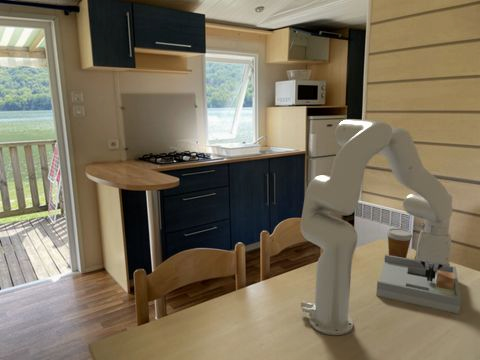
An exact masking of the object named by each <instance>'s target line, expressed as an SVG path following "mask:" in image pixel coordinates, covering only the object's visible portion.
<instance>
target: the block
mask: <svg viewBox="0 0 480 360" xmlns="http://www.w3.org/2000/svg"><path fill="white" fill-rule="evenodd" d="M454 284H455V276H454V273H451V272H446V271H440V270H437V278H436V287H439V288H444V289H449V290H454Z"/></svg>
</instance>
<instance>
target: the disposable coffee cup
mask: <svg viewBox="0 0 480 360" xmlns="http://www.w3.org/2000/svg"><path fill="white" fill-rule="evenodd" d="M386 235H387V245H388V246H387V247H388V255H390V256H396V257H402V258H407V257H408V252H409V248H410V244H411V240H412V238H413V235H412V232H411V231H410V230H407V229H405V228H404V229H403V228H398V227H396V228H394V227H393V228H389V229H388V230H387V232H386Z"/></svg>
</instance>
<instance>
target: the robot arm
mask: <svg viewBox="0 0 480 360" xmlns="http://www.w3.org/2000/svg"><path fill="white" fill-rule="evenodd" d="M334 139H335V141H336V142H337V144H338V145H339V146H340V149H339V150H338V151H337V153H336V155H335V157H334V159H333V162H332V167H331V170H330V175H325V174H324V175H323V174H321V175H317V176H315V177H314V178H313V179H312V180H311V181H310V182H309V183H308V186H307V188H306V191H305V195H304V201H303V207H302V212H301V220H300V231H301V235H302V236H303V237H304V238H305V239H306V240H307V241H308V242H310V243H312V244H314V245H316V246H318V247H319V248H321V249H322V253H321V255H320V256H319V257H318V260H317V263H316V272H315V273H316V274H315V292H314V295H315V296H314V302H308V301H305V300H301V302H300V307H301V308H302V309H301V310H302V312H304V313H309V315H308V322H309V324H310V326H311V327H312V328H314V329H315V330H316V331H318V332H319V333H321V334H325V335H329V336H330V335H331V336H341V335H345V334H348V333H350V332H351V331H352V330H353V327H354V320H353V318H352V317H351V315H349V307H350V306H349V305H350V293H351V279H352V278H351V277H352V265H353V259H354V253H355V250H356V247H357V244H358V232H357V230H356V229H355V227H354V226H353V225H352V224H351V223H349V222H348V221H345V220H344V219H341V218H339V217H336V216H335V215H334V216H333V215H330V212H331V213H334V214H337V215H340V216H350V215H352V214H353V213H354V212H356V210H357V208H358V204H359V201H360V195H361V190H362V185H363V180H364V175H365V170H366V168H367V166H368V164H369V162H370V161H371V159H372V158H373V157H375V156H376V155H382V156H384V157H385V158H386V161H387V164H388V166H389V167H390V170H391V171H392V174H393V176H394V178H395V180H396V181H397V182H398V183H400V184H401V185H403V186H404V187H406V188H408V189H410V190H411V191H413V193H411V194H408V195H407V196H405V198H404V200H403V201H402V208H403V209H404V211H405V212H406V213H407V214H409V215H411V216H413V217H416V218H419V219H423V222H422V223H418V228H421V230H420V232H419V235H418V239H417V243H416V249H415V257H414V259H413V260H415V261H416V262H419V263H421V264H422V265H423V266H424V267H425V269H426V272H425V277H427V281H431V282H432V280H433V279H435V274H436V271H437V270H438V269H439V268H441V267H449V266H451V264H450V262H451V261H450V260H451V251H452V237H451V234H450V233H449V230H450V223H451V222H450V221H451V217H452V215H453V196H452V195H451V194H450V193H449V192H448V190H447V189H446V187H445V186H444V184H443V183H442V182H441V181H440V180H439V179H437V178H436V176H434V175H433V173H431V172H430V171H429V170H427V169H426V168H425V167H424V165H423V162H422V159H421V157H420V155H419V153H418V150H417V147H416V145H415V142H414V140H413V137H412V135H411V133H410V132H409V131H408V130H407V129H405V128H402V127H395V126H394V127H393V126H391V125H390V124H389V123H388V122H385V121H381V120H375V119H358V118H357V119H354V118H352V119H351V118H348V119H344V120H342V121H340V123H338V125H337V126H336V128H335V130H334ZM429 263H434V264H433V266H432V268H430V266H429ZM430 272H431V273H430Z"/></svg>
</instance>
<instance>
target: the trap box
mask: <svg viewBox="0 0 480 360" xmlns="http://www.w3.org/2000/svg"><path fill="white" fill-rule="evenodd" d="M433 264H434V263H429V266H430V268H432V266H433ZM438 270H440V271H446V272H451V273H454V276H455V284H454V290H449V289H444V288H439V287H436V278H437V271H436V274H435V279H433V280H432V282H431V281H427V277H425V272H426V269H425V267H424V266H423V265H422V264H421V263H419V262H416V261H415V260H414V259H413V258H409V257H408V258H407V257H406V258H402V257H396V256H390V255H389V254H385V255H384V260H383V266H382V269H381V273H380V276H379V280H377V283H376V293H375V294H376V295H375V296H376V297H380V298H386V299H390V300H394V301H398V302H403V303H408V304H413V305H417V306H421V307H427V308H430V309H435V310H440V311H445V312H450V313H454V314H458V315H459V314H460V310H461V309H460V308H461V301H462V296H461V290H460V284H459V279H458V278H459V277H458V272H457V266H453V265H450V266H449V267H441V268H439V269H438ZM430 273H431V272H430Z"/></svg>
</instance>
